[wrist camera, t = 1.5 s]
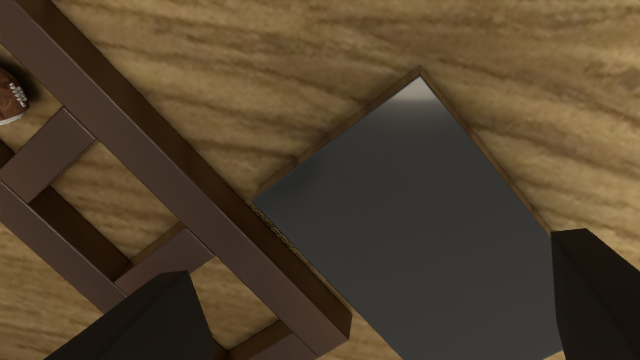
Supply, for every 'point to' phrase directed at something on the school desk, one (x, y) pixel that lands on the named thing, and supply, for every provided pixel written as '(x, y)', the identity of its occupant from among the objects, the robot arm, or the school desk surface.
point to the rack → (161, 179)
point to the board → (421, 231)
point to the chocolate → (11, 99)
